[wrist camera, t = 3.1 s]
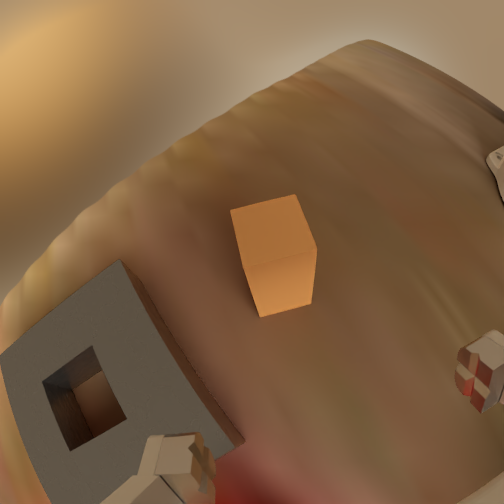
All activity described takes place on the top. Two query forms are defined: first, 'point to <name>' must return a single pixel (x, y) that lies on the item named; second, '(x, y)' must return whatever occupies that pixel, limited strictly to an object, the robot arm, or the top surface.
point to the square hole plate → (120, 380)
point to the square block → (276, 253)
